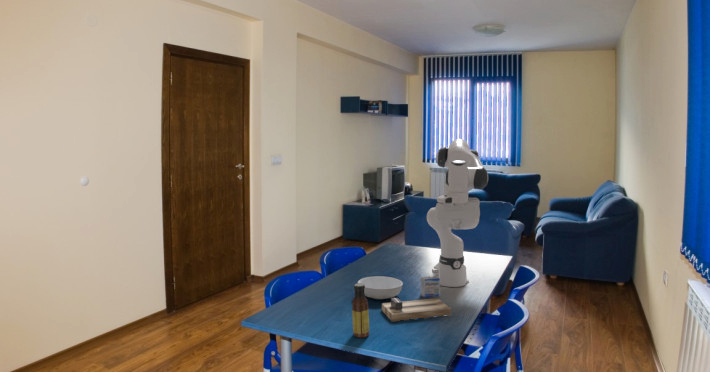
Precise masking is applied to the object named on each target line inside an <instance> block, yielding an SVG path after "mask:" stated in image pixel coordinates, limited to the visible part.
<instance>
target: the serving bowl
mask: <svg viewBox="0 0 710 372" xmlns="http://www.w3.org/2000/svg"><path fill="white" fill-rule="evenodd" d="M357 283H362V284H364V285H365V288H364V294H365V297H366V298H371V299H374V300H386V299H391V298H395V297H396V296H398V295H399V294H400V293H401V291H402V289H403V285H404V282H403V281H402V280H400V279H398V278H395V277H389V276H383V275H382V276H381V275H380V276H379V275H377V276H367V277H362V278H361V279H359V280H358V281H357Z"/></svg>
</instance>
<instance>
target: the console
mask: <svg viewBox="0 0 710 372" xmlns="http://www.w3.org/2000/svg"><path fill="white" fill-rule="evenodd" d="M401 301H402V300H401ZM381 312H383V313H384V315H386V317H387V318H388V319H389V321H391V322H393V323H394V322H401V321H400V320H404V321H410V320H409V319H414V320H417V319H416V318H424V319H428V318H427V317H433V318H435V317H434V316H443V317H445V316H444V315H451V316H452V307H449V305H447V304H445V303H444V302H443V301H442V300H440V299H439V298H428V299H427V298H426V299H414V300H405V301H402V309H400V310H395V309H394V308H393V307H392V306H391V302H383V303H381Z"/></svg>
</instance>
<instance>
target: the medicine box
mask: <svg viewBox="0 0 710 372" xmlns="http://www.w3.org/2000/svg"><path fill="white" fill-rule="evenodd" d="M440 287H441V285H440V278H438V277H437V276H432V277H429V276H423V277H420V295H421V296H422V297H423V298H433V297H434V296H435V297H440V293H441V291H440V290H441V289H440Z"/></svg>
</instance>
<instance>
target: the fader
mask: <svg viewBox="0 0 710 372" xmlns="http://www.w3.org/2000/svg"><path fill="white" fill-rule="evenodd" d="M390 303H391V306H392V307H393V308H394V309H395V310H400V309H402V300H401V299H400V298H398V297H392V298H390Z"/></svg>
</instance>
